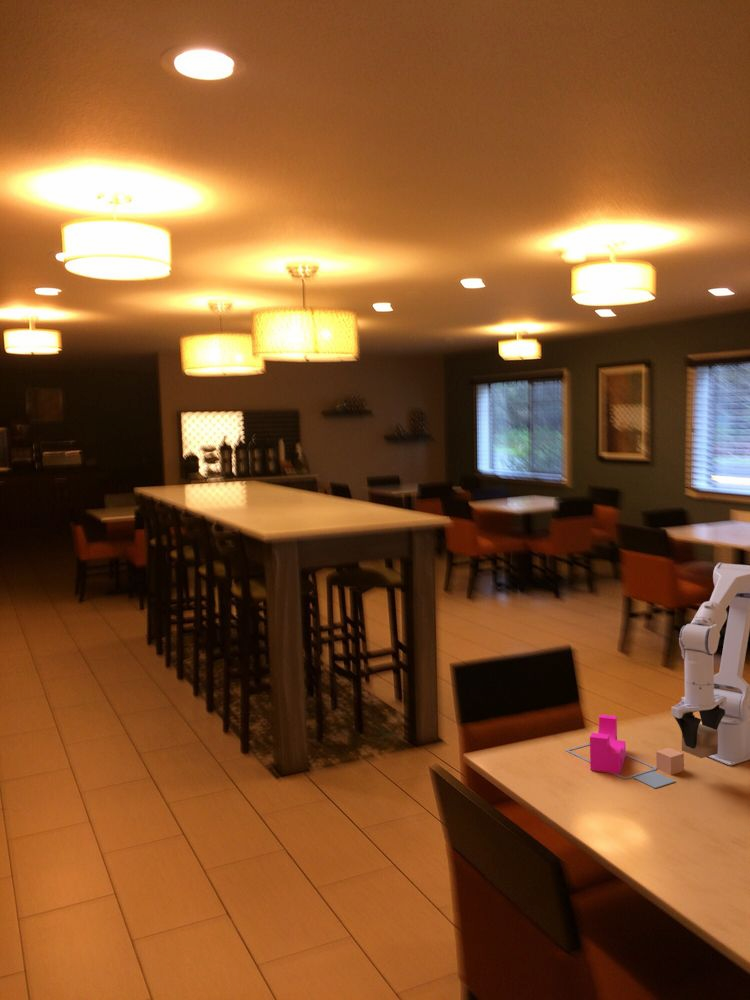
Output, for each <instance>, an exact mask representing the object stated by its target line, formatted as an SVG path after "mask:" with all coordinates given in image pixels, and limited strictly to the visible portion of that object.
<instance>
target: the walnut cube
mask: <svg viewBox="0 0 750 1000" xmlns="http://www.w3.org/2000/svg"><path fill="white" fill-rule="evenodd" d="M681 752H685V753H688V754H689V755H692V756H695V757H697V758H699V759H703V758H704V759H705V758H707V757H708V756H711V755H715V754H718V730H715V729H713V728H710V727H707V726H704V725H702V723H700V724H699V727H698V731H697V742H696V747H695V748H690V747H688V746H686V745H685V742H684V738H683V734H682V733H681ZM708 758H709V757H708Z"/></svg>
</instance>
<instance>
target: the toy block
mask: <svg viewBox="0 0 750 1000" xmlns="http://www.w3.org/2000/svg"><path fill="white" fill-rule="evenodd" d="M626 743H627V742H626V740H619V739H618V717H617V715H610V714H600V715H599V716H598V732H591V733H590V736H589V744H590V745H589V750H590V751H589V761H590V762H589V766H590V771H597V772H604V773H610V774H612V773H616V774H618V775H621V772H622V768H623V765H624V763H625V760H626V757H627V756H626V754H627V750H626V749H627V748H626V745H627V744H626Z"/></svg>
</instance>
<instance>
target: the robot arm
mask: <svg viewBox="0 0 750 1000" xmlns="http://www.w3.org/2000/svg"><path fill="white" fill-rule="evenodd" d="M712 579H713V580H712V582H713V585H714V588H713V591H712V593H711V596H710V599H709V600H708V601H703V603H702V604H701V605H700V606H699V608H698V610H697V612H696V613H695V615H694V617H693V619H692V621H691V622H690V623H687V624H686V625H683V626H682V627H681V628H680V632H679V638H678V642H679V643H678V645H679V648H680V650H681V657H682V659H683V661H684V670H683V671H684V696H682V697H681V701H679V703H677V704H676V705H674V706H670V707H671V709H670V711H671V716H672V717H674V719H675V720H676V722H677V725H678V727H679V729H680V731H681V735H682V734H683V738H684V742H685V745H686V746H688V747H690V748H695V747H696V742H697V731H698V727H699V724H702V725H704V726H707V727H710V728H713V729H715V730H718V754H715V755H711V756H708V758H710V759H712V760H715V761H718V762H720V763H723V764H724V765H727V766H734V765H737V764H740V763H743V762H746V761H750V683H749V682H747V681H746V680H745V679H744V677H743V674H744V668H745V667H744V666H745V660H746V656H747V655H746V654H747V649H748V642H749V637H750V565H749V564H748V565H747V564H733V563H725V562H718V563H716V565H715V566H714V569H713V574H712ZM728 606H729V607H728ZM727 608H729V609H728V610H729V611H727ZM726 621H727V622H726ZM725 623H726V627H725V634H724V639H723V648H722V654H721V659H720V664H719V665H720V666H719V671H718V672H717V673H715V669H714V666H715V664H714V663H715V657H714V656H715V655H714V654H716V652H717V650H718V646H719V641H720V638H721V634H720V632H721V630H722V628H723V626H724V625H725ZM714 673H715V674H714ZM697 712H698V713H699V716H700V718H699V717H697V716H696V715H695V714H694V713H697Z"/></svg>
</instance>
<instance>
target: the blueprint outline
mask: <svg viewBox="0 0 750 1000" xmlns="http://www.w3.org/2000/svg"><path fill="white" fill-rule="evenodd" d="M588 746H590V743H587V744H584V745H579V746H575V747H571V748H569V749H566V750H565V752H568V753H569V754H572V755H574V756H576V757H578V758H580V759H582V760H584V761H586V762H588V763H590V759H587V758H585V757H584V756H581V755H578V754H576V753H575V752H572V751H574V750H577V749H580V748H584V747H588ZM626 757H628V758H629V759H632V760H634V761H637V762H639V763H641V764H643V765H645V766H648V767H650V768H652V769H649V770H646V771H642V772H641V771H640V772H638V773H636V774H632V775H629V776H626V777H624V776H622V775H621V774H617V773H611V774H612V775H614V776H617V777H619V778H621V779H623V780H625V779H626V780H629V779H631V778H633V779H634V780H636V781H639V782H641V783H643V784H645V785H646V786H649V787H650V788H652V789H654V790H655V789H658V788H662V787H666V786H667V785H670V784H673V783H676V780H675V779H672V778H670V777H668V776H665V775H663V774H661V773H658V772H657V770H658V769H657V768H656V766H653V765H651V764H649V763H648V762H647V763H646V762H645V761H642V760H640V759H638V758H635V757H633V756H630V755H629V754H627V753H626Z"/></svg>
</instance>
